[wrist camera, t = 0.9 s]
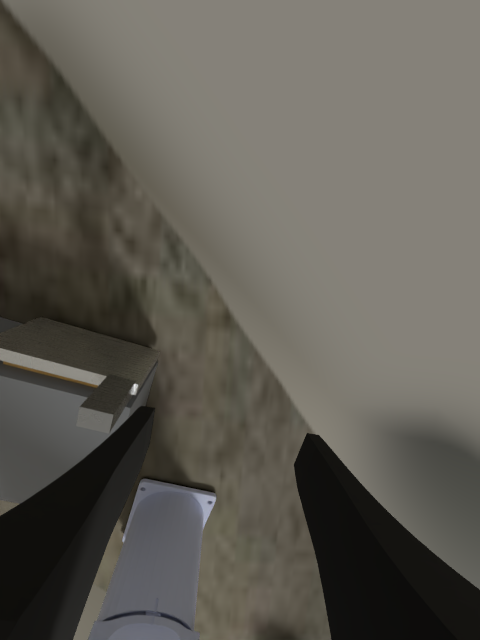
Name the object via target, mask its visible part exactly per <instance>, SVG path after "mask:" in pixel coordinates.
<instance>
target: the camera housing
mask: <svg viewBox="0 0 480 640" xmlns="http://www.w3.org/2000/svg"><path fill="white" fill-rule="evenodd" d="M21 324H23V323H19V322H16V321H12V320H9V319H5V318H2V317H0V333H1V332H4V331H6V330H9V329H11V328H14V327H16V326H19V325H21ZM157 364H158V361H156V363H155V364H154V366H153V368H152V369H151V371H150V373H149V374H148V376H147V378H146V379H145V381H144V383H143V384H142V386H141V387H140V389H139V391H138V392H137V394H136V395H132V398H131V399H130V401H129V402H128V404H127V406H126V407H125V409H124V410H123V412H122V414H121V415H120V417H119V418H118V420H117V422H116V423H115V425H114V426H113V428H112V430H111V431H110V433H104V432H100V431H95V430H91V429H87V428H82V427H78V426H76V424H77V418H78V413H79V407H80V406H81V405H82V403H83V402H84V401H85V400H86V399H87V398H88V397H89V396H90V395H91V394H92V392H93V391H94V390H95V389H96V388H97V387H98V385H94V384H90V383H86V382H82V381H78V380H75V379H71V378H67V377H63V376H59V375H55V374H51V373H47V372H43V371H40V370H36V369H32V368H28V367H24V366H20V365H16V364H12V363H8V362H5V361H1V360H0V500H4V501H9V502H15V503H20V504H21V503H22V502H24V501H25V500H27V499H28V498H30V497H31V496H33V495H34V494H36V493H37V492H39V491H40V490H41V489H43V488H44V487H46V486H47V485H49V484H50V483H52V482H53V481H54V480H56V479H57V478H59V477H60V476H61V475H63V474H64V473H65V472H67V471H68V470H69V469H71V468H72V467H73V466H75V465H76V464H77V463H78V462H80V461H81V460H82V459H84V458H85V457H86V456H87V455H88V454H89V453H91V452H92V451H93V450H94V449H95V448H97V447H98V446H99V445H100V444H101V443H103V442H104V441H105V440H106V439H107V438H108V437H109V436H110V435H111V434H112V433H113V432H115V431H116V430H117V429H118V428H119V427H120V426H121V425H122V424H123V423H124V422H125V421H126V420H127V419H128V418H129V417H130V416H131V415H132V414H133V413H134V412H135V411H136V409H137V408H138V407H140V406H145V407H146V403H147V400H148V396H149V392H150V389H151V385H152V382H153V378H154V375H155V371H156V367H157Z"/></svg>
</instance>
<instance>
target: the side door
mask: <svg viewBox="0 0 480 640" xmlns="http://www.w3.org/2000/svg"><path fill="white" fill-rule="evenodd" d="M159 352H160V351H158V350H155V349H152V348H148V347H145V346H141V345H138V344H134V343H131V342H127V341H124V340H120V339H117V338H113V337H110V336H106V335H103V334H100V333H96V332H93V331H89V330H86V329H82V328H79V327H75V326H72V325H68V324H65V323H61V322H58V321H54V320H51V319H48V318H44V317H39V318H37V319H34V320H32V321H29V322H26V323H24V324H21V325H19V326H16V327H14V328H11V329H9V330H6V331H4V332H1V333H0V360H1V361H5V362H8V363H12V364H16V365H20V366H24V367H28V368H32V369H36V370H40V371H43V372H47V373H51V374H55V375H59V376H63V377H67V378H71V379H75V380H78V381H82V382H86V383H90V384H94V385H98V387H97V388H96V389H95V390H94V391H93V392H92V394H91V395H90V396H89V397H88V398H87V399H86V400H85V401H84V402H83V403H82V405H81V406H80V407H79V413H78V418H77V424H76V426H78V427H82V428H87V429H91V430H95V431H100V432H104V433H110V431H111V430H112V428H113V426H114V425H115V423H116V422H117V420H118V418H119V417H120V415H121V414H122V412H123V410H124V409H125V407H126V406H127V404H128V402H129V401H130V399H131V398H132V395H136V394H137V392H138V391H139V389H140V387H141V386H142V384H143V383H144V381H145V379H146V378H147V376H148V374H149V373H150V371H151V369H152V368H153V366H154V364H155V363H156V361H157V359H158V356H159Z"/></svg>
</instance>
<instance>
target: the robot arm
mask: <svg viewBox="0 0 480 640" xmlns="http://www.w3.org/2000/svg"><path fill="white" fill-rule="evenodd" d="M154 412H155V408H151V407H145V406H140V407H138V408H137V409H136V411H135V412H134V413H133V414H132V415H131V416H130V417H129V418H128V419H127V420H126V421H125V422H124V423H123V424H122V425H121V426H120V427H119V428H118V429H117V430H116V431H115V432H113V433H112V434H111V435H110V436H109V437H108V438H107V439H106V440H105V441H104V442H103V443H101V444H100V445H99V446H98V447H97V448H95V449H94V450H93V451H92V452H91V453H89V454H88V455H87V456H86V457H85V458H84V459H82V460H81V461H80V462H78V463H77V464H76V465H75V466H73V467H72V468H71V469H69V470H68V471H67V472H65V473H64V474H63V475H61V476H60V477H59V478H57V479H56V480H54V481H53V482H52V483H50V484H49V485H47V486H46V487H44V488H43V489H41V490H40V491H39V492H37V493H36V494H34V495H33V496H31V497H30V498H28V499H27V500H25V501H24V502H22V503H21V504H19V505H17V506H16V507H14V508H13V509H11V510H9V511H8V512H6V513H4V514H3V515H1V516H0V640H73V637H74V635H75V632H76V629H77V626H78V623H79V621H80V618H81V615H82V612H83V609H84V607H85V604H86V601H87V598H88V596H89V593H90V590H91V587H92V585H93V582H94V579H95V576H96V574H97V571H98V568H99V565H100V563H101V560H102V557H103V555H104V552H105V549H106V546H107V544H108V541H109V539H110V536H111V534H112V532H113V529H114V527H115V525H116V522H117V520H118V518H119V516H120V514H121V511H122V509H123V507H124V505H125V503H126V500H127V498H128V496H129V494H130V492H131V489H132V487H133V485H134V483H135V481H136V478H137V476H138V474H139V472H140V469H141V467H142V464H143V461H144V458H145V456H146V453H147V450H148V447H149V444H150V438H151V431H152V425H153V418H154ZM294 469H295V476H296V482H297V488H298V492H299V496H300V499H301V503H302V507H303V511H304V514H305V518H306V521H307V525H308V528H309V532H310V536H311V539H312V543H313V546H314V550H315V554H316V558H317V563H318V567H319V573H320V578H321V583H322V588H323V593H324V599H325V604H326V610H327V616H328V621H329V627H330V633H331V639H332V640H480V590H479V589H478V588H477V587H475V586H474V585H473V584H471V583H470V582H469V581H468V580H466V579H465V578H463V577H462V576H461V575H460V574H459V573H457V572H456V571H455V570H454V569H452V568H451V567H450V566H448V565H447V564H446V563H445V562H444V561H442V560H441V559H440V558H439V557H437V556H436V555H435V554H434V553H433V552H431V551H430V550H429V549H428V548H427V547H426V546H425V545H424V544H422V543H421V542H420V541H419V540H418V539H417V538H415V537H414V536H413V535H412V534H411V533H410V532H409V531H408V530H407V529H406V528H404V527H403V526H402V525H401V524H400V523H399V522H398V521H397V520H396V519H395V518H394V517H393V516H392V515H391V514H390V513H389V512H387V510H386V509H385V508H384V507H383V506H382V505H381V504H380V503H378V501H377V500H376V499H375V498H374V497H373V496H372V495H371V494H370V493H369V492H368V491H367V490H366V489H365V487H364V486H363V485H362V484H361V483H360V482H359V481H358V480H357V479H356V477H355V476H354V475H353V474H352V473H351V472H350V471H349V470H348V469H347V467H346V466H345V465H344V464H343V463H342V461H341V460H340V459H339V458H338V457H337V455H336V454H335V453H334V452H333V451H332V449H331V448H330V447H329V446H328V445H327V444H326V442H325V441H324V440H323V439H322V438H321V437H320V436H319V435H315V434H309V433H307V434H306V437H305V439H304V442H303V444H302V446H301V449H300V451H299V454H298V456H297V458H296V461H295V463H294ZM215 501H216V494H215V493H213V492H208V491H203V490H198V489H193V488H188V487H184V486H179V485H174V484H169V483H164V482H160V481H155V480H150V479H142V480H141V481H140V483H139V486H138V489H137V493H136V496H135V499H134V503H133V506H132V509H131V512H130V516H129V519H128V522H127V525H126V529H125V532H124V535H123V539H122V541H123V542H124V544H123V547H122V550H121V552H120V555H119V558H118V561H117V564H116V567H115V570H114V573H113V575H112V578H111V581H110V584H109V587H108V590H107V593H106V596H105V599H104V602H103V604H102V607H101V611H100V613H99V616H98V619H97V621H95V622H94V624H93V627H92V629H91V632H90V635H89V638H88V640H199V637H200V633H199V632H196V631H194V622H195V611H196V600H197V589H198V577H199V566H200V555H201V544H202V532H203V528H204V526H205V524H206V521H207V519H208V517H209V515H210V512H211V510H212V508H213V506H214V503H215Z"/></svg>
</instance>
